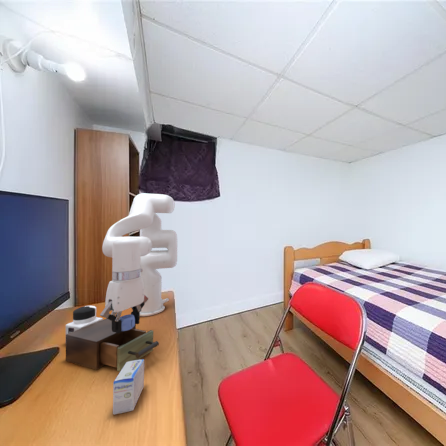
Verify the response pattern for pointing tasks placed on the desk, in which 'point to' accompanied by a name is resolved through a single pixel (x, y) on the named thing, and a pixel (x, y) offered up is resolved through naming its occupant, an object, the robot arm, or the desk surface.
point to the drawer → (126, 347)
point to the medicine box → (128, 386)
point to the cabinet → (88, 343)
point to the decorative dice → (127, 322)
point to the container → (82, 318)
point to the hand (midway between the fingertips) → (126, 327)
